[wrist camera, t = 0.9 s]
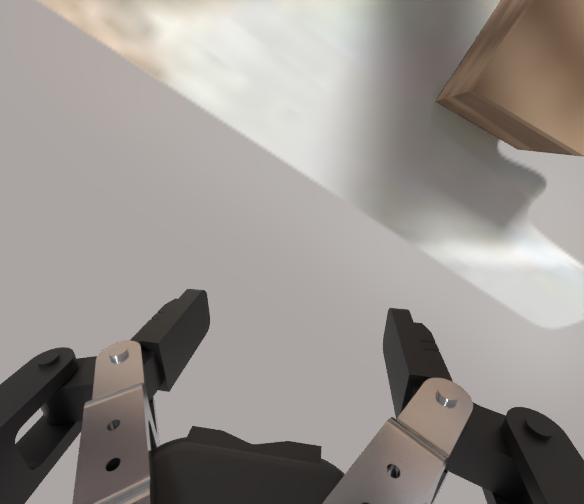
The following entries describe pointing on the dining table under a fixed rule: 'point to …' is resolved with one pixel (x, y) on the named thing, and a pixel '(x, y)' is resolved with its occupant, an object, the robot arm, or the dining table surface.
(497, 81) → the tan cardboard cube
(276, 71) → the dining table surface
